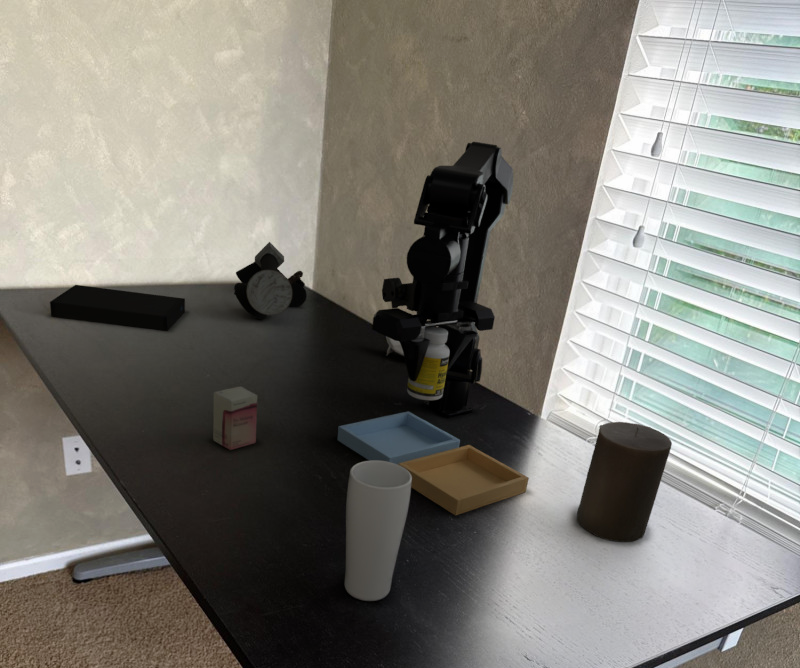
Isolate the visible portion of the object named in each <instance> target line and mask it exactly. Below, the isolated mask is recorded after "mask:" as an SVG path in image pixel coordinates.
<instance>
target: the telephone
mask: <svg viewBox="0 0 800 668" xmlns="http://www.w3.org/2000/svg"><path fill="white" fill-rule="evenodd" d="M284 263H285V256H284V254H283V253H281V251H280V250H278V248H276V246H275V245H274V244H272V242H271V241H268V242H267V244H265V246H264V247H262V249H261V250H260V251H259V252H258V253H257V254H256V255H255V256H254V262H251V263H249V264H248V265H246V266H244V267H243V268H241V269H239V270H236V272H235V275H236V277H237V278H238V280H239V281H240V282H236V283H235V284H234V287H233V290H234V292H233V295H235V296H236V300H237V301H238V302H239V304H240V306H241V307H242V308H243V309H244V310H245V311H246V312H247V313H248V314H249V315H250V316H252V317H254V318H255V319H257V320H266V319H267V317H268V316H276V315H279V314H281V313H283V312H284V311H285V310H287V309H288V307H292V308H298V307H300V306H303V304H304V303H306V300H307V296H308V295H307V291H306V288H305V286H306V284H305V282H304V281H303V280H302V277H303V275H304V272H303V271H302V270H298V271H296V272H294V273H293V274H292V275H291V276H290V277H288V278H287V277H286V276H285V274H283V273H282V272H281V271H280V270H279V268H280V266H282V265H283V264H284Z"/></svg>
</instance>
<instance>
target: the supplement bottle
mask: <svg viewBox="0 0 800 668" xmlns="http://www.w3.org/2000/svg"><path fill="white" fill-rule="evenodd" d="M447 337H448V331H447V330H446V329H443V328H440V327H438V326H436V327H428V328H425V330H424V338H426V339H428V340H430V342H429V345H428V348H427V351H426V354H425V357H424V360H423V363H422V367H421V370H420V373H419V375H418V377H417V380H416V381H412V380H410V379H409V377H408V378H407V385H406V391H407V394H408V395H409V396H411V397H412V398H415V399H417V400H422V401H429V400H438V399H440V398H441V397H442V395H443V390H444V385H445V379H446V373H447V367H448V361H449V354H450V350H449V348H448V347H447V346H446V345H445V343H446V342H447Z"/></svg>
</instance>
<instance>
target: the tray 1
mask: <svg viewBox="0 0 800 668" xmlns="http://www.w3.org/2000/svg"><path fill="white" fill-rule="evenodd" d="M337 441H338V442H340V443H341V444H342V445H344V446H345V447H347V448H349V449H351V450H352V451H353V452H355V453H357V454H358V455H360V456H361V457H363V458H365V459H366V460H367V461H371V460H378V461H386V462H391V463H394V464H397V465H398V464H399V463H403V462H406V461H409V460H413V459H417V458H421V457H425V456H428V455H432V454H436V453H440V452H443V451H447V450H451V449H455V448H459V447H460V444H461V439H459V438H457V437H456V436H454V435H452V434H451V433H449V432H446V431H444V430H443V429H441V428H439V427H438V426H436V425H434V424H432V423H430V422H429V421H427V420H425V419H423V418H421V417H419V416H418V415H416V414H414V413H413V412H411V411H409V410H408V411H404V412H399V413H394V414H389V415H384V416H380V417H376V418H370V419H366V420H361V421H358V422H357V421H356V422H353V423H347V424H343V425H339V426H338V430H337Z"/></svg>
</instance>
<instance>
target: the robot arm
mask: <svg viewBox="0 0 800 668" xmlns="http://www.w3.org/2000/svg"><path fill="white" fill-rule="evenodd" d="M502 154H503V153H502V147H499V146H498V145H497V144H492V143H486V142H480V141H472V142H467V144H466V147H465V151H464V152H463V154H462V155H461V156H460V157H459V158H458V159H457V160H456V161H455V162H454V164H453V165H438V166H435V167H434V168H433V169H432V171H431V172H430V174H427V175H426V177H425V180H424V183H423V186H422V191H421V194H420V198H419V201H418V205H417V208H416V212H415V215H414V218H413V219H414V220H413V225H416V226H417V225H418V226H423V227H424V230H423V235H422V236H421V237H419V238H418V239H416V240H415V241H414V242H413V243H412V244H411V245H410V247H409V249H408V251H407V253H406V265H407V269H408V271H409V273H410V275H411V276H412V282H407V283H402V280H401V278H400V277H388V278H384V279H383V282H382V287H381V295H382V297H381V298H382V301H384V303H391V308H384V309H378V310H377V311H376V312H375V313H374V314H373V318H372V326H371V330H372V331H374V332H377V333H379V334H381V335H383V336H385V337H386V336H387V337H389V338H391V339H393V340H395V341H399V342H400V344H401V347H402V350H403V353H404V356H403V357H404V361H405V362H404V363H405V365H406V370H407V375H408V378H409V379H410V380H412V381H416V380H417V377H418V375H419V373H420V370H421V367H422V363H423V360H424V357H425V354H426V351H427V348H428V345H429V342H430V340H428V339H426V338H424V330H425V328H428V327H440V328H443V329H446V330H447V331H448V337H447V342H446V343H445V345H446V346H447V347H448V348H449V350H450V354H449V361H448V367H447V373H446V379H445V385H444V390H443V395H442V397H441V398H440V399H438V400H424V401H423V406H424V407H427V408H428V409H430V410H432V411H435V412H436V413H438V414H440V415H442V416H444V417H447V418H450V417H455V416H459V415H463V414H467V413H471V412H473V408H472V407H470V406H468V405H467V404H468V400H469V392H470V387H471V384H472V385H474V384H475V383H479V382H481V379H482V373H483V357H482V355H481V354H482V353H481V352H482V351H481V349H480V348H479V346H480V345H479V344H480V335H479V332H478V331H480V332H483V331H490V330H493V329H494V323H495V320H496V319H495V318H496V317H495V314H494V312H493V309H492V308H490V307H488V306H485V305H483V304H480V303H478V300H479V293H480V289H481V284H482V279H483V274H484V267H485V264H486V263H485V262H486V257H487V252H488V247H489V243H490V237H491V236H490V235H491V232H492V229H493V228H494V227H495V226H496V225H497V224H498V222H499V221H500V220H501V219H502V218H503V216H504V214H505V209H506V205H509V204H510V202H511V199H512V195H513V189H514V169H513V167H512V166H511V165H510V164H509V163H508V162H507V160H506V159H505V158H504V157H503V155H502ZM399 307H406V310H408V311H411V312H416V314H412V313H410V312H408V311H405V310H403V309H401V308H399Z"/></svg>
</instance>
